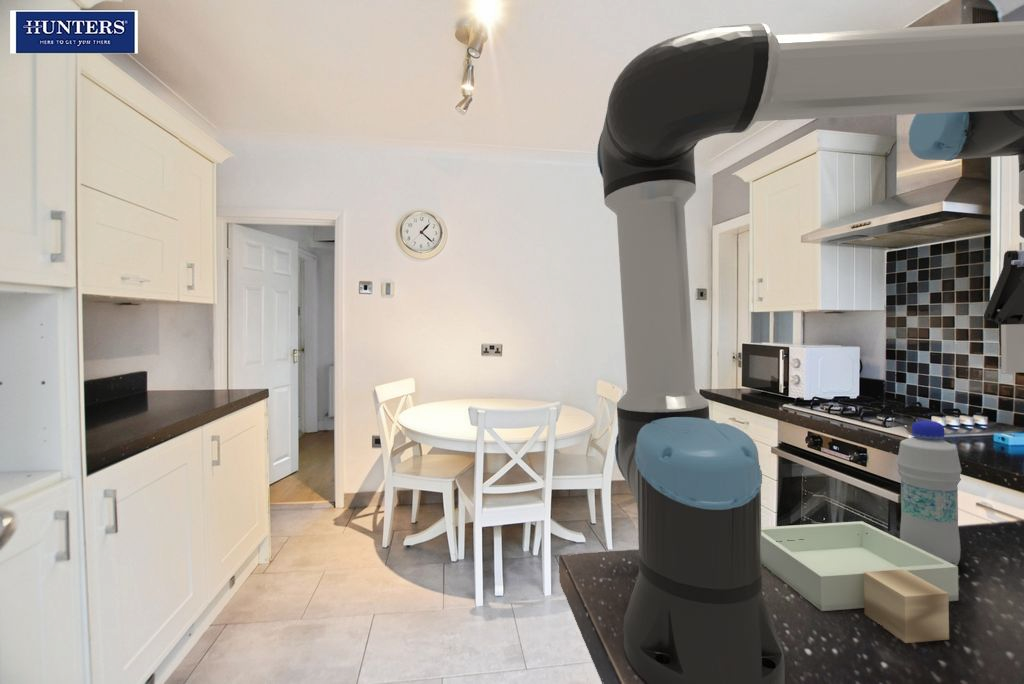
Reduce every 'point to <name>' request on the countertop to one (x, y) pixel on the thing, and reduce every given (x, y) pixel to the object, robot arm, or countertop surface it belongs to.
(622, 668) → the countertop surface
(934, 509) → the bottle
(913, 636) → the cube
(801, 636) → the countertop surface
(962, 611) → the countertop surface
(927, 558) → the tote
